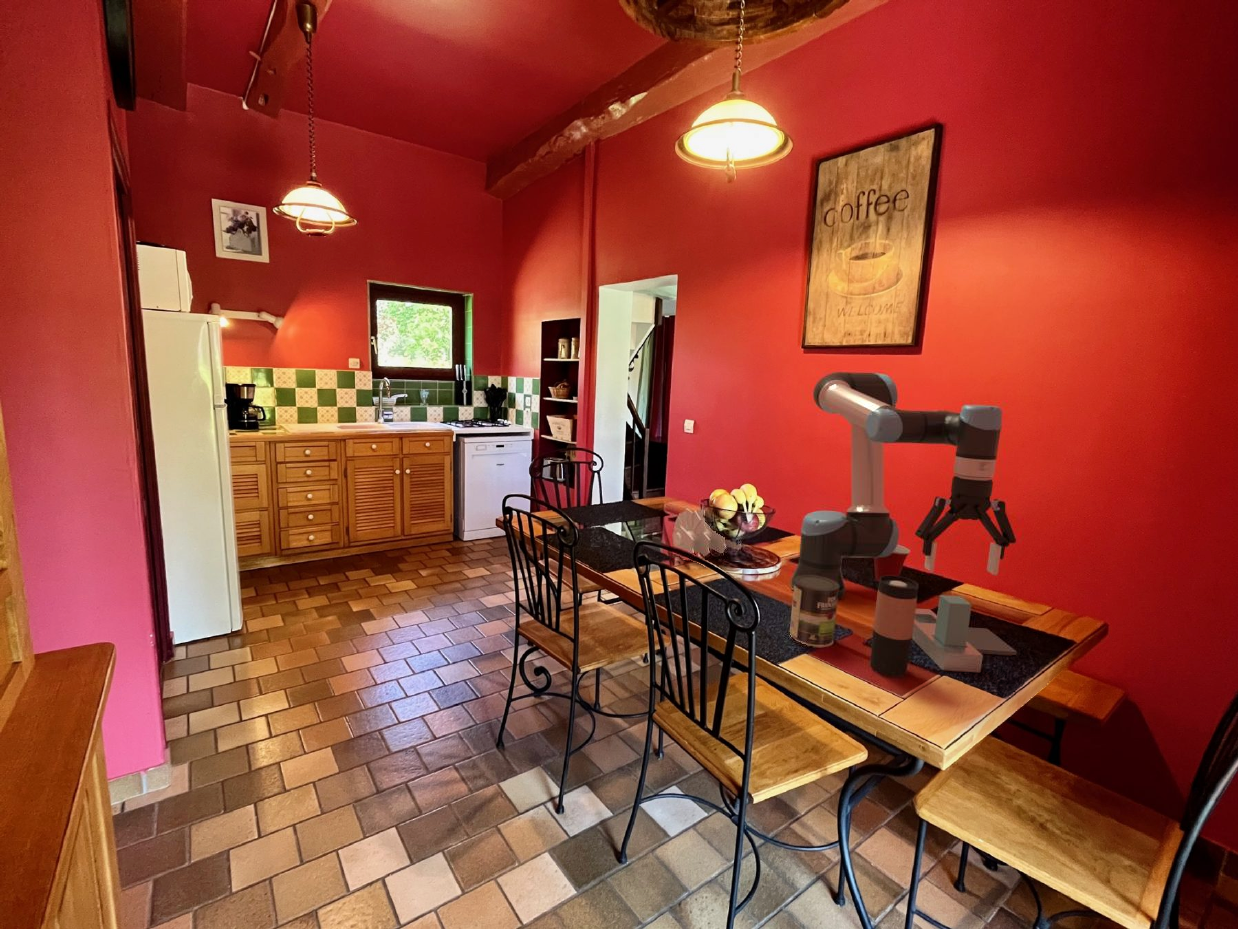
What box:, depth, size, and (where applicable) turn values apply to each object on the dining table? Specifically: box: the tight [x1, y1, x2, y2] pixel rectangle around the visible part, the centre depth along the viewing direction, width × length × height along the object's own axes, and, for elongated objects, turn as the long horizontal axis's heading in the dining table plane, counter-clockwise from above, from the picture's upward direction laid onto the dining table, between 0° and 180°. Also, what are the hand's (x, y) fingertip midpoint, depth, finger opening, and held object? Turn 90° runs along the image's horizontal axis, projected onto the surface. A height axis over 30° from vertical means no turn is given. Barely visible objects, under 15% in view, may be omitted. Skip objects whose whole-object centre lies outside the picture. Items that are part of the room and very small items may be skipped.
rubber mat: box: [966, 626, 1018, 656], centre depth 138 cm, size 12×12×1 cm
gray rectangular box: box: [934, 594, 973, 647], centre depth 129 cm, size 5×5×14 cm
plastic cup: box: [873, 544, 911, 583], centre depth 175 cm, size 11×11×12 cm
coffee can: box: [789, 575, 840, 649], centre depth 136 cm, size 10×10×14 cm
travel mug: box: [869, 575, 919, 678], centre depth 122 cm, size 8×8×20 cm
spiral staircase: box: [671, 506, 742, 557], centre depth 192 cm, size 18×18×25 cm
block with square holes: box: [912, 608, 984, 673], centre depth 135 cm, size 8×24×4 cm, turn 177°
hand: (960, 571), depth 126 cm, fingers open, 13 cm apart
